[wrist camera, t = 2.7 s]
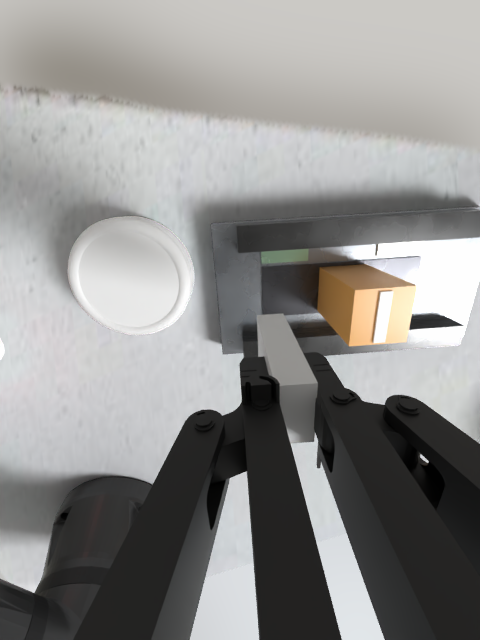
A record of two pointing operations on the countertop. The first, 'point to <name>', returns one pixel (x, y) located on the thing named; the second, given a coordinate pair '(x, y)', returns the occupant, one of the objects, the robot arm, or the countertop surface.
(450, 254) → the panel
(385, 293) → the lever
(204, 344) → the countertop surface
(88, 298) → the coaster
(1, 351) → the beverage cup
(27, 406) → the countertop surface
